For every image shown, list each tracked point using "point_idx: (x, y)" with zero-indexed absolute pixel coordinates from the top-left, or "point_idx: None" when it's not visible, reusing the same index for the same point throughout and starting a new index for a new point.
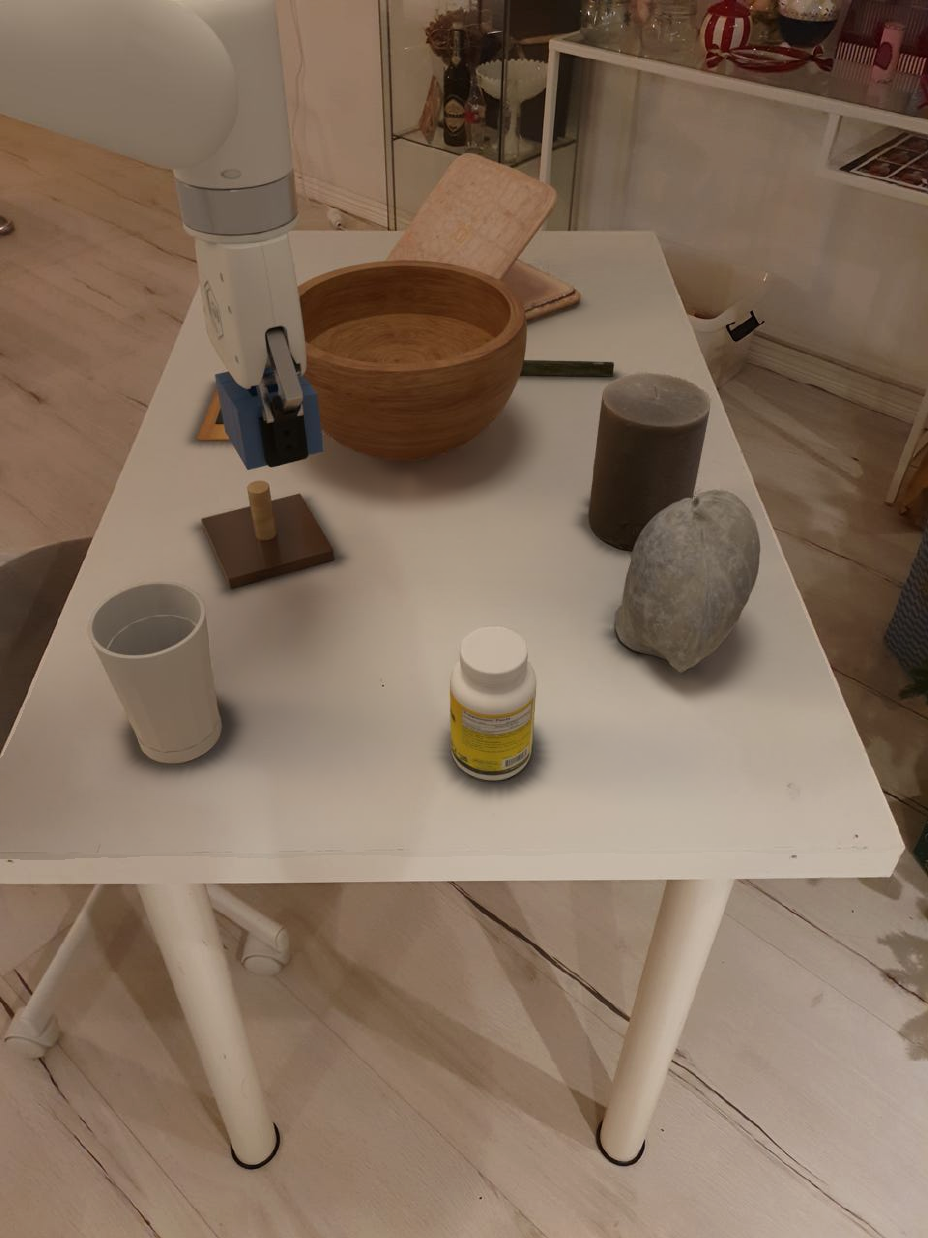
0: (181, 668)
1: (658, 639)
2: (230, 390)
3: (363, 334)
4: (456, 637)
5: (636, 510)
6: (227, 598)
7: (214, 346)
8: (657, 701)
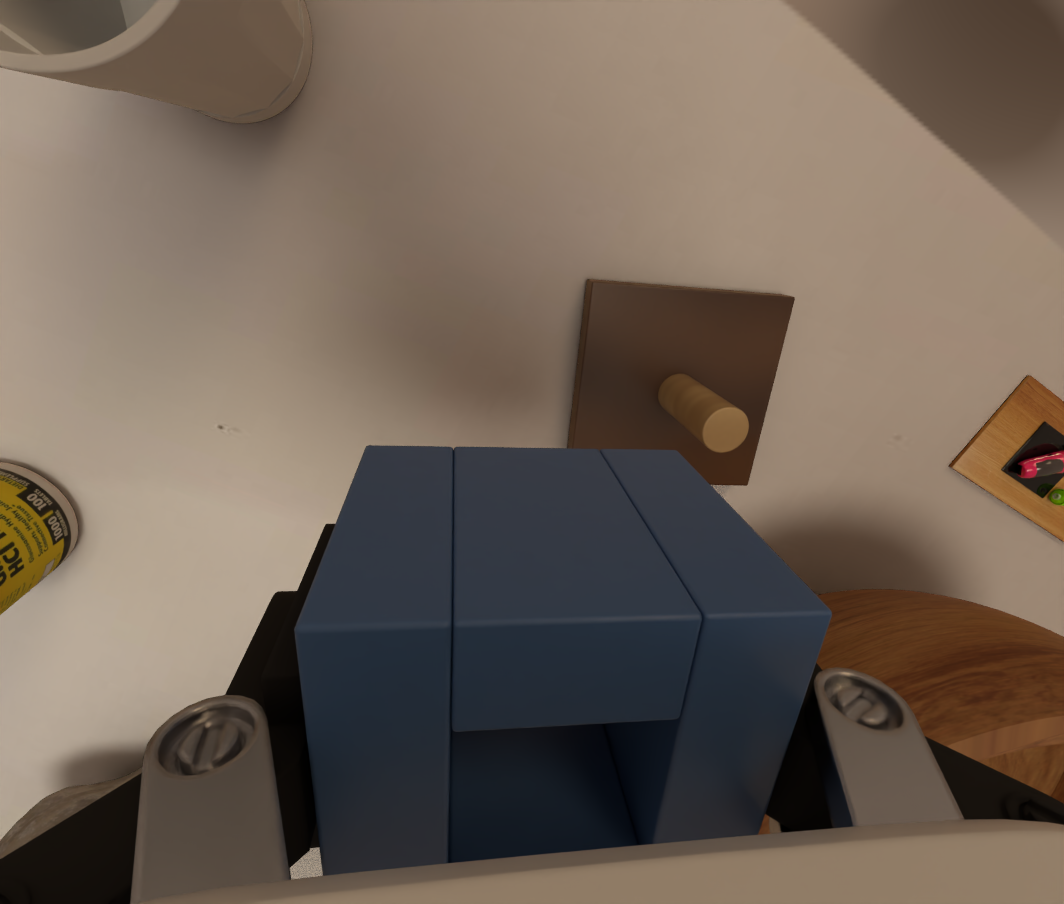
0: None
1: (51, 820)
2: (587, 647)
3: (1006, 774)
4: (291, 565)
5: None
6: (564, 264)
7: (935, 878)
8: (59, 734)
